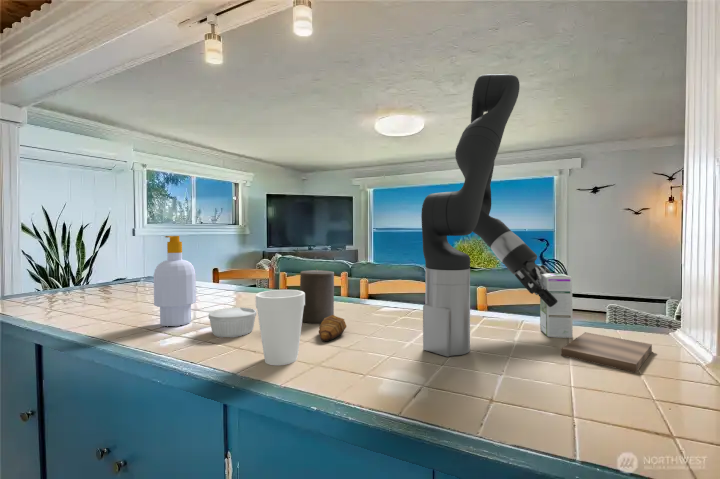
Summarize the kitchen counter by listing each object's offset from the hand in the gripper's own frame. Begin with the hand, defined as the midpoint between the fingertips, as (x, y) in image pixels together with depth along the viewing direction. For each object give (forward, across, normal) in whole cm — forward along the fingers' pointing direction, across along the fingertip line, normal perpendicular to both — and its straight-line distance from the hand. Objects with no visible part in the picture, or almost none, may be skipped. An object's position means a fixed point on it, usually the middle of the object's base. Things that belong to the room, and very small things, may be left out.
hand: (560, 302), depth 85 cm
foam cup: (-17, -57, +28) cm, 66 cm away
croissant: (-21, -39, +33) cm, 55 cm away
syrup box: (+5, 0, +6) cm, 8 cm away
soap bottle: (-48, -64, +59) cm, 100 cm away
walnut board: (+13, -7, -2) cm, 15 cm away
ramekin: (-35, -56, +46) cm, 80 cm away
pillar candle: (-32, -33, +43) cm, 63 cm away
